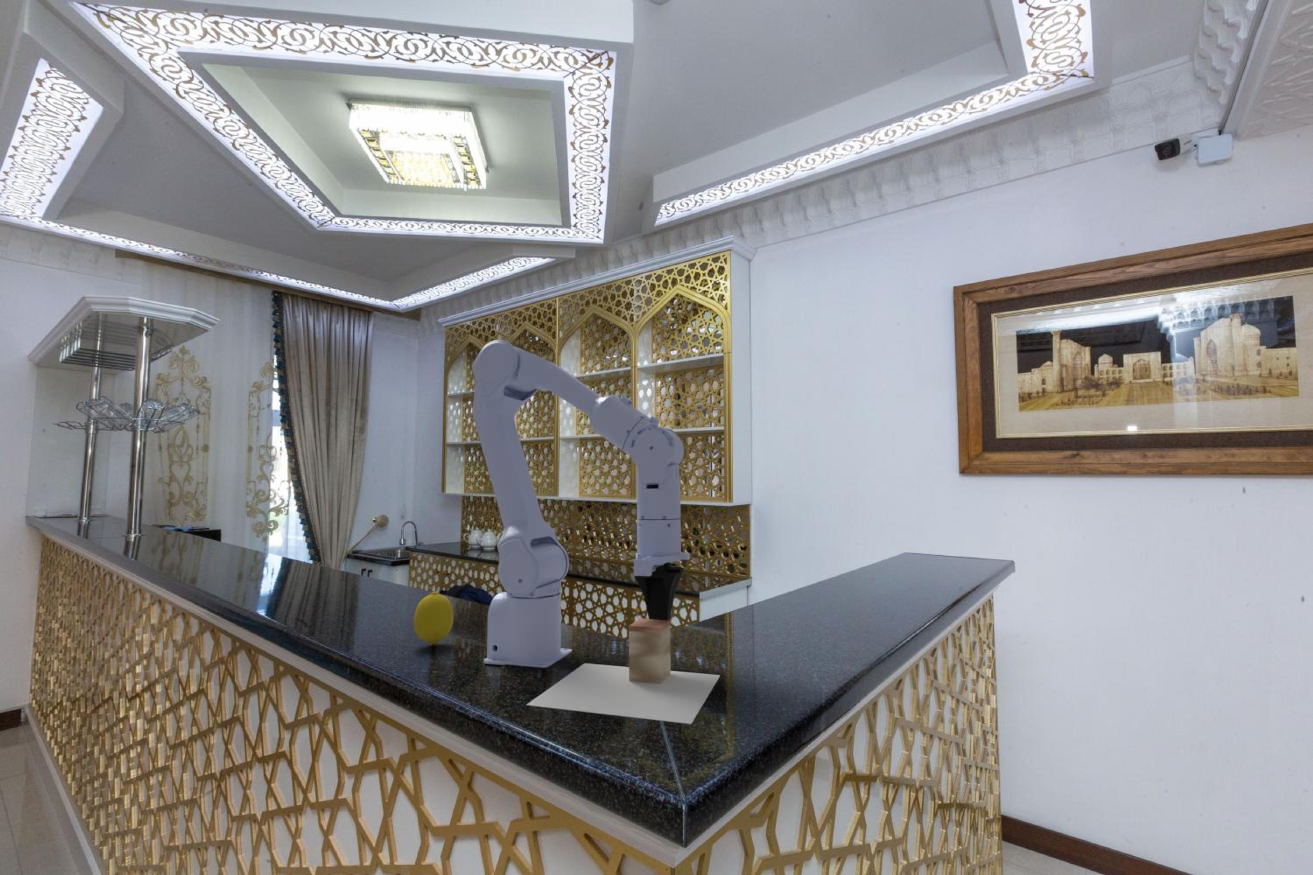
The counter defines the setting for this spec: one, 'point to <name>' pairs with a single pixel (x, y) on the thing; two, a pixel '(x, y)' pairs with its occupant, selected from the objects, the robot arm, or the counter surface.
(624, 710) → the grey mat
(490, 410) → the robot arm
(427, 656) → the counter surface
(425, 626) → the lemon
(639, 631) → the maple block
